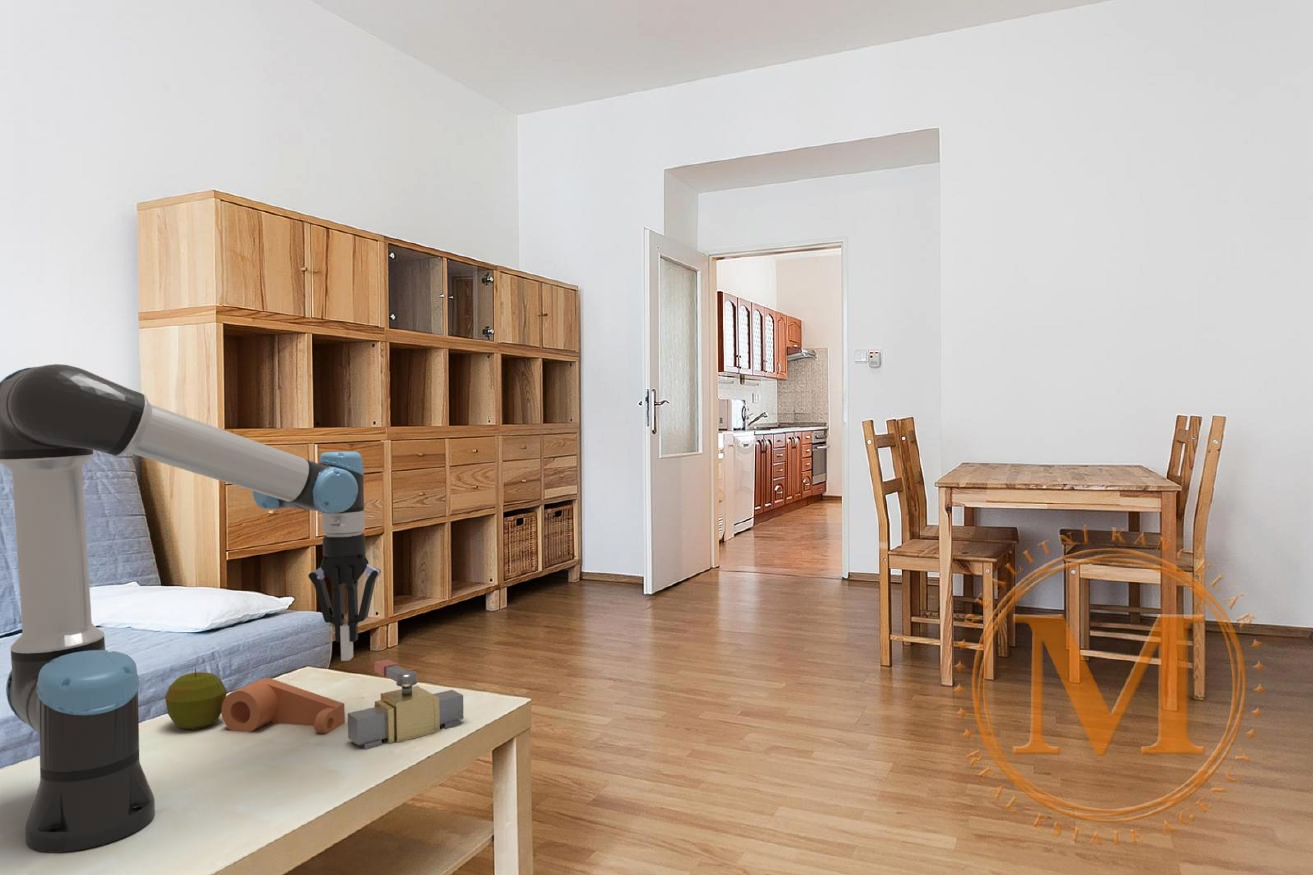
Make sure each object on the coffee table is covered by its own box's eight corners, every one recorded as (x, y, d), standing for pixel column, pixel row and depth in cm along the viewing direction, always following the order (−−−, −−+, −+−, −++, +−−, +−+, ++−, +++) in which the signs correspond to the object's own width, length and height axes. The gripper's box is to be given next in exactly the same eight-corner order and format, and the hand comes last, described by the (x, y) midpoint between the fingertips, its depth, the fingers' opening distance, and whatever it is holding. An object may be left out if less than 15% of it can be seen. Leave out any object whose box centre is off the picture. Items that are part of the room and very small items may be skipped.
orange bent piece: (221, 732, 160) (220, 689, 160) (250, 718, 167) (249, 677, 167) (319, 740, 156) (319, 695, 155) (344, 724, 163) (343, 682, 163)
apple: (238, 719, 166) (237, 662, 166) (200, 737, 157) (199, 676, 156) (193, 716, 168) (192, 659, 168) (153, 733, 159) (152, 673, 159)
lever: (420, 684, 158) (420, 673, 158) (401, 688, 155) (401, 677, 155) (390, 668, 168) (390, 658, 168) (372, 672, 165) (372, 662, 165)
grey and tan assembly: (360, 751, 149) (359, 702, 149) (345, 740, 154) (344, 692, 154) (466, 724, 162) (466, 679, 161) (449, 715, 167) (448, 671, 167)
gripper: (301, 537, 160) (305, 665, 160) (374, 535, 160) (377, 663, 161) (314, 532, 167) (318, 654, 168) (384, 530, 168) (387, 652, 169)
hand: (347, 658), depth 164 cm, fingers closed
